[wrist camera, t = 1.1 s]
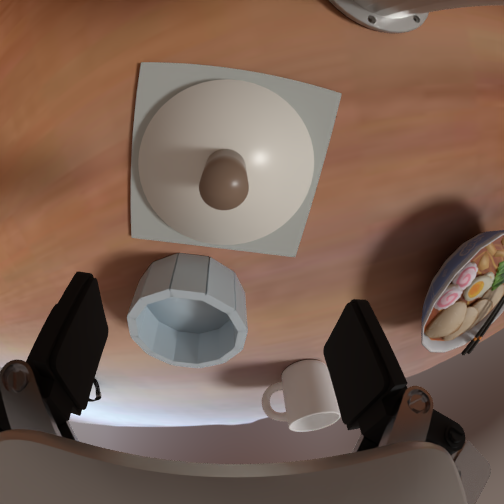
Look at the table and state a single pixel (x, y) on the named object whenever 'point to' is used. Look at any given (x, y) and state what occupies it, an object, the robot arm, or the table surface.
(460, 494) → the robot arm
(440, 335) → the ramen bowl
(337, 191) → the table surface
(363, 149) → the table surface
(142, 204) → the mat
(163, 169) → the lid
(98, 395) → the smartwatch
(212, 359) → the bowl
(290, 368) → the mug
